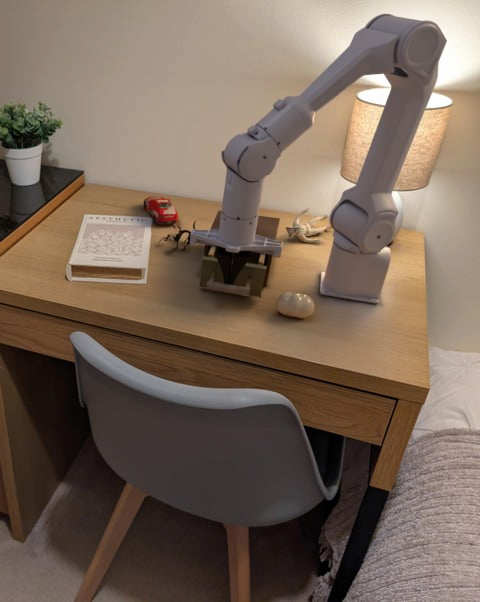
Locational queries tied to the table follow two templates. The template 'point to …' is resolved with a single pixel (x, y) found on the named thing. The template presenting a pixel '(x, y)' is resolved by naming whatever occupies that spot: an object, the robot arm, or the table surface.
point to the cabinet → (264, 229)
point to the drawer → (246, 281)
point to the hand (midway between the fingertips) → (228, 286)
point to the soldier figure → (307, 228)
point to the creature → (179, 237)
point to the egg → (295, 304)
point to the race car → (161, 210)
